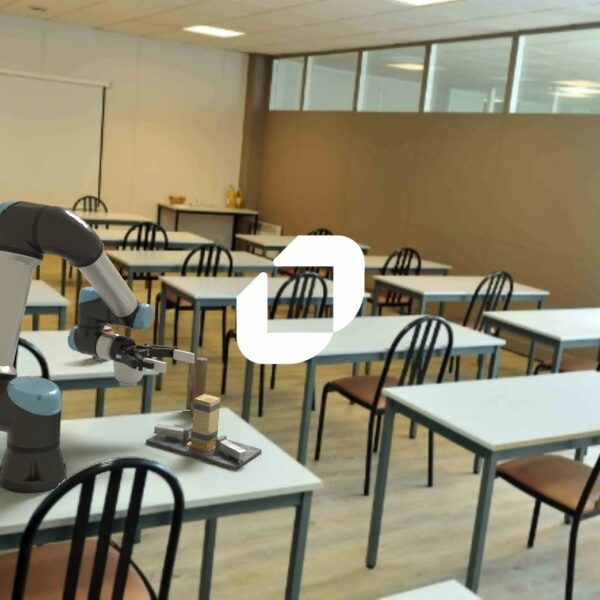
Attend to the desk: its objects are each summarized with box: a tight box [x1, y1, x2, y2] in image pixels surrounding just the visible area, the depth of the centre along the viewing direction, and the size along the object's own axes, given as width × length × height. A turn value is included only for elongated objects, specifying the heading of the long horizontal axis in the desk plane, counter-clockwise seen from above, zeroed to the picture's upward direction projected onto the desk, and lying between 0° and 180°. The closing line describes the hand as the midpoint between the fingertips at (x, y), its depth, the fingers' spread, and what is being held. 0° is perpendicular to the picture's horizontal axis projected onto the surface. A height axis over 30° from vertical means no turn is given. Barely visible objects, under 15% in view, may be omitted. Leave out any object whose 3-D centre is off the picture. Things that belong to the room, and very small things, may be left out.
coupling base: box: [145, 423, 262, 471], centre depth 202 cm, size 29×14×4 cm, turn 65°
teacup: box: [112, 357, 156, 388], centre depth 247 cm, size 12×15×10 cm
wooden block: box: [186, 356, 209, 417], centre depth 227 cm, size 4×11×18 cm, turn 20°
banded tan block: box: [191, 393, 221, 449], centre depth 200 cm, size 5×5×13 cm
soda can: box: [92, 324, 114, 362], centre depth 271 cm, size 7×7×12 cm
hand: (180, 363), depth 202 cm, fingers open, 13 cm apart
